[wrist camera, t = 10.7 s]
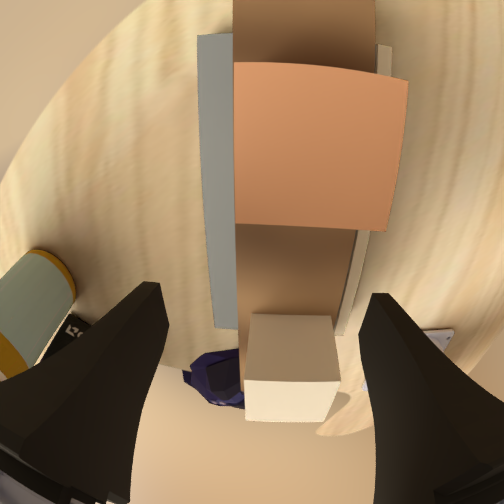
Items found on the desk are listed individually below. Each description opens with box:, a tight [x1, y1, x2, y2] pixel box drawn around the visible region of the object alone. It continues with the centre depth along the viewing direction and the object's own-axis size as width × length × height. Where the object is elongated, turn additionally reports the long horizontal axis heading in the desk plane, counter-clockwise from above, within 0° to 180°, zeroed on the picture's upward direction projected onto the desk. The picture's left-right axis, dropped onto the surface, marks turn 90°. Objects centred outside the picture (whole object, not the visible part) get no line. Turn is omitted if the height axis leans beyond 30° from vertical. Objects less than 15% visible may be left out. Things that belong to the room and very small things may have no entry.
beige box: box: [244, 313, 341, 422], centre depth 14 cm, size 4×4×4 cm
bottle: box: [0, 250, 76, 382], centre depth 18 cm, size 7×7×15 cm
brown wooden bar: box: [233, 0, 375, 391], centre depth 15 cm, size 22×5×5 cm, turn 0°
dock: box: [197, 33, 392, 336], centre depth 18 cm, size 20×10×2 cm, turn 0°
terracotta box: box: [234, 62, 409, 232], centre depth 8 cm, size 4×4×4 cm
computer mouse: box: [182, 349, 245, 409], centre depth 28 cm, size 9×15×4 cm, turn 134°
